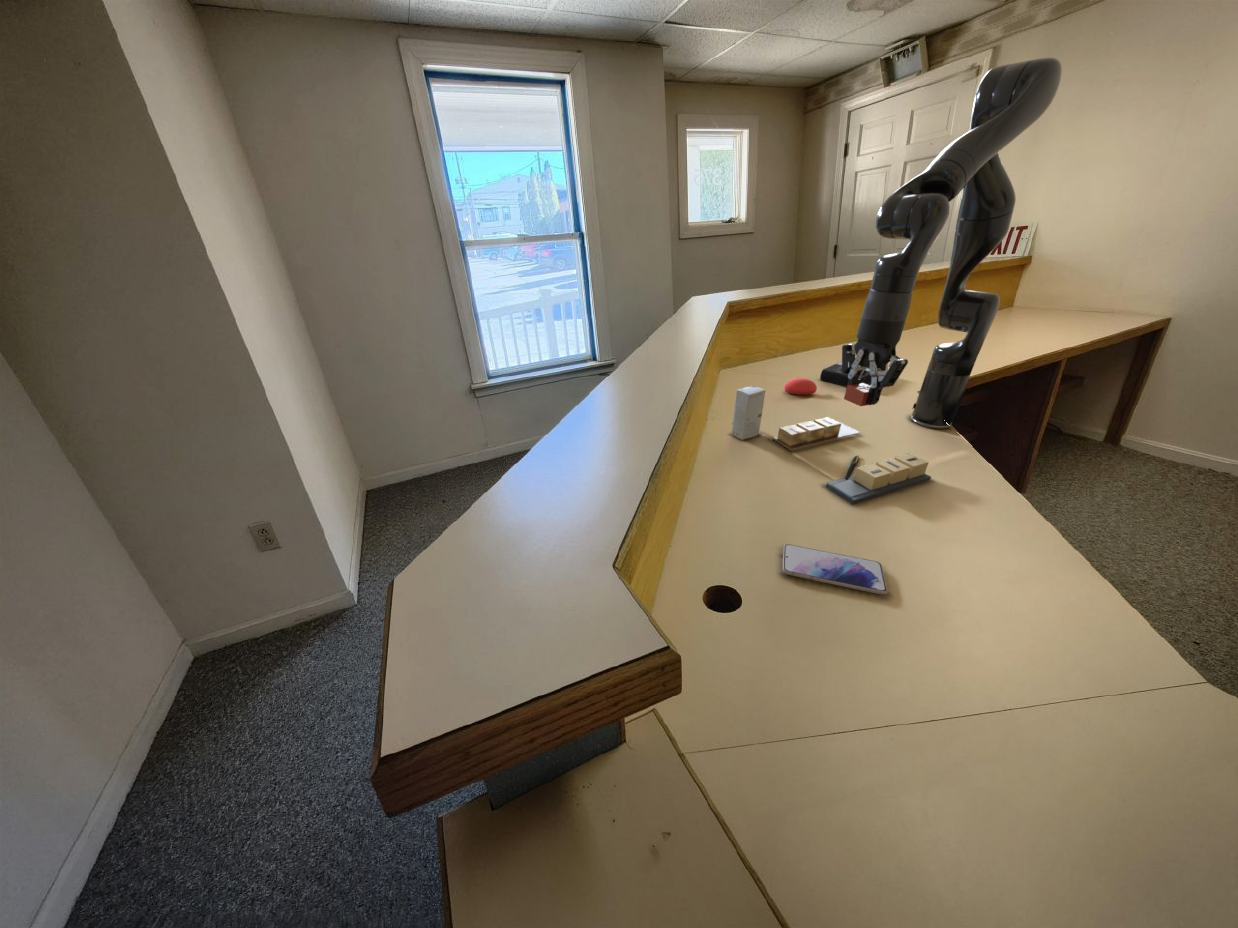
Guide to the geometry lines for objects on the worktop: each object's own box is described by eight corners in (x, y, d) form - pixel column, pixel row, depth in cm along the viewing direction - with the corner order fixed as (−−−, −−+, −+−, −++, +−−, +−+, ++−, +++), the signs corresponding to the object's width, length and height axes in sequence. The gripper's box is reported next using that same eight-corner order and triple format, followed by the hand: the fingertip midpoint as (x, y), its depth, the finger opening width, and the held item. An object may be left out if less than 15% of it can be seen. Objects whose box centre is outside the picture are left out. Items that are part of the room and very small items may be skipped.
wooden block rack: (900, 465, 102) (906, 449, 100) (929, 480, 96) (936, 464, 94) (825, 487, 94) (829, 470, 92) (852, 504, 89) (857, 486, 87)
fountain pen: (846, 486, 94) (848, 480, 93) (840, 485, 95) (842, 479, 94) (859, 458, 104) (861, 453, 103) (854, 457, 105) (855, 451, 104)
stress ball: (809, 403, 138) (821, 385, 136) (782, 389, 139) (794, 371, 137) (807, 403, 142) (818, 385, 141) (781, 389, 144) (792, 371, 142)
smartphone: (888, 593, 67) (782, 570, 71) (886, 597, 68) (781, 575, 72) (881, 561, 73) (784, 542, 77) (879, 565, 73) (783, 546, 78)
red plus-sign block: (859, 396, 97) (863, 382, 95) (877, 403, 93) (881, 389, 92) (843, 399, 95) (847, 385, 94) (860, 406, 92) (864, 392, 90)
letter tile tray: (838, 425, 121) (841, 411, 119) (859, 435, 115) (863, 421, 113) (771, 440, 113) (774, 425, 111) (790, 452, 108) (794, 436, 106)
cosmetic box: (743, 440, 113) (749, 395, 107) (730, 434, 117) (735, 389, 111) (760, 434, 116) (767, 389, 110) (746, 428, 120) (753, 384, 114)
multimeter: (818, 380, 152) (822, 365, 149) (844, 368, 163) (847, 354, 160) (858, 390, 143) (862, 375, 141) (882, 376, 154) (887, 362, 152)
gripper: (933, 321, 81) (903, 409, 90) (867, 307, 93) (847, 387, 101) (903, 324, 79) (875, 415, 87) (839, 310, 90) (821, 391, 99)
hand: (860, 399), depth 94 cm, fingers closed on red plus-sign block, 4 cm apart
